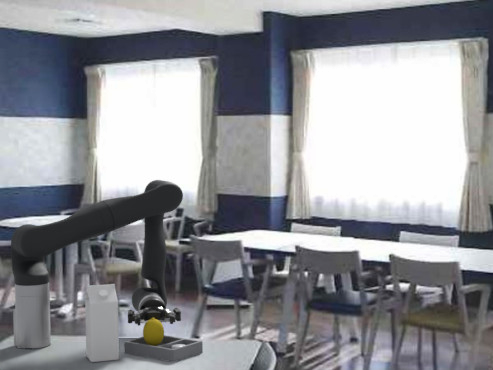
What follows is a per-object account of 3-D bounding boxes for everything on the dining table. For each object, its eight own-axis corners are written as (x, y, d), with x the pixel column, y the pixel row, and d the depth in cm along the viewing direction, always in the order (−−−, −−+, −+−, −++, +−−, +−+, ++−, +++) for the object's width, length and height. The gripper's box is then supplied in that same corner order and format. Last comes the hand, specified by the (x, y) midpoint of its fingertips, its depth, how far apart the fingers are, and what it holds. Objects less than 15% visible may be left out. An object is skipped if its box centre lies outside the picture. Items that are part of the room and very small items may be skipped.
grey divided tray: (124, 353, 219) (124, 341, 219) (154, 344, 228) (153, 333, 228) (173, 361, 209) (173, 350, 209) (202, 352, 218) (202, 341, 218)
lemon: (167, 348, 219) (166, 318, 218) (146, 351, 217) (145, 320, 216) (161, 344, 224) (160, 314, 223) (141, 346, 222) (140, 317, 221)
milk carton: (86, 356, 216) (84, 283, 215) (113, 353, 218) (112, 281, 217) (91, 362, 209) (89, 287, 208) (119, 360, 212) (117, 285, 211)
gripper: (126, 297, 233) (127, 307, 217) (177, 295, 235) (182, 305, 219) (127, 323, 233) (128, 336, 217) (177, 321, 236) (182, 333, 220)
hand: (155, 320), depth 218 cm, fingers open, 8 cm apart
